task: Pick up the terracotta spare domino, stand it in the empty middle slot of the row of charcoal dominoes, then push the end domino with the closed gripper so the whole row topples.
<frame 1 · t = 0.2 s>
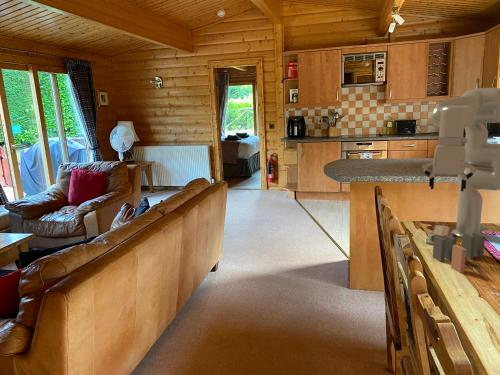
hand: (446, 189, 137), 30 cm above the table, tool pointing down, fingers open, 9 cm apart
domino 2: (467, 256, 153), on the table
domino 1: (476, 255, 154), on the table
domino 5: (438, 259, 151), on the table
domino 4: (448, 258, 152), on the table
packaged product: (439, 240, 173), on the table
spare domino: (457, 270, 141), on the table
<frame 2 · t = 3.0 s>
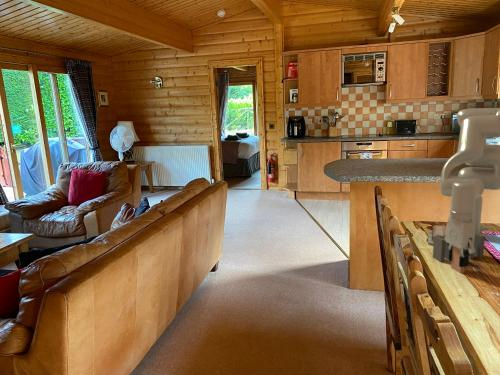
hand: (458, 262, 140), 3 cm above the table, tool pointing down, fingers closed on spare domino, 4 cm apart
spare domino: (457, 270, 141), on the table, touching gripper
everything else where it was.
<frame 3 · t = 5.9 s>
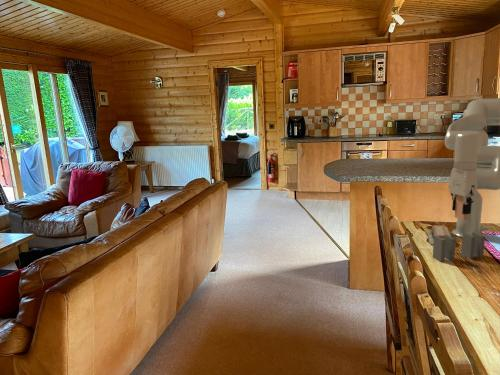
hand: (461, 211, 148), 19 cm above the table, tool pointing down, fingers closed on spare domino, 4 cm apart
spare domino: (460, 218, 149), point 16 cm above the table, touching gripper
when the fingers open (4 cm above the table, at t = 9.0 s): spare domino stays where it is, on the table.
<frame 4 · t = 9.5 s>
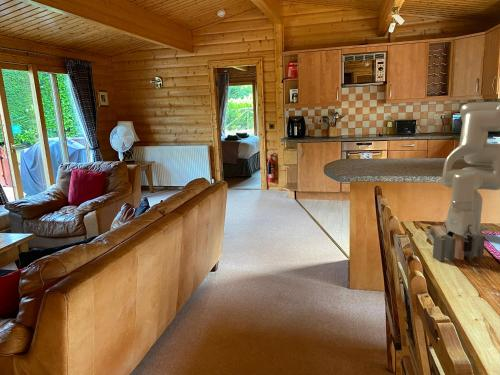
hand: (458, 246, 151), 4 cm above the table, tool pointing down, fingers open, 9 cm apart
spare domino: (457, 257, 153), on the table
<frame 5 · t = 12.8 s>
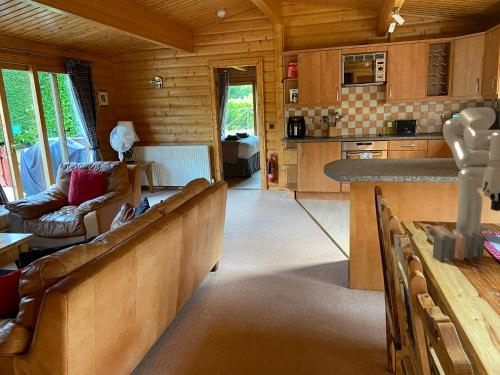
hand: (495, 210, 151), 18 cm above the table, tool pointing down, fingers closed
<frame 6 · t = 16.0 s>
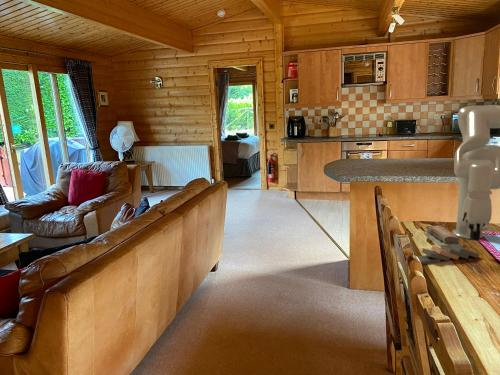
hand: (474, 239, 152), 7 cm above the table, tool pointing down, fingers closed
domino 2: (463, 254, 153), point 1 cm above the table, tilted 67°, touching domino 1, spare domino
domino 1: (473, 253, 153), point 1 cm above the table, tilted 68°, touching domino 2
domino 5: (436, 258, 151), on the table, tilted 90°
domino 4: (445, 257, 151), point 1 cm above the table, tilted 71°, touching spare domino
spare domino: (454, 255, 152), point 1 cm above the table, tilted 67°, touching domino 2, domino 4
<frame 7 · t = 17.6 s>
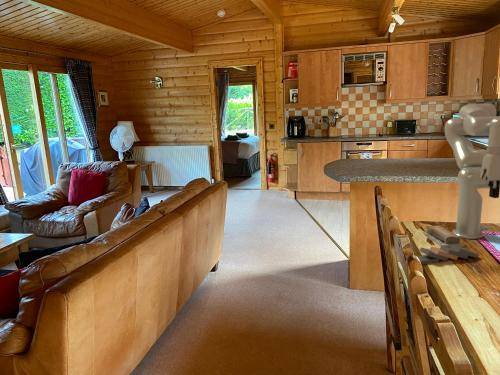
hand: (493, 197, 150), 24 cm above the table, tool pointing down, fingers closed
spare domino: (453, 255, 152), point 1 cm above the table, tilted 69°, touching domino 2, domino 4
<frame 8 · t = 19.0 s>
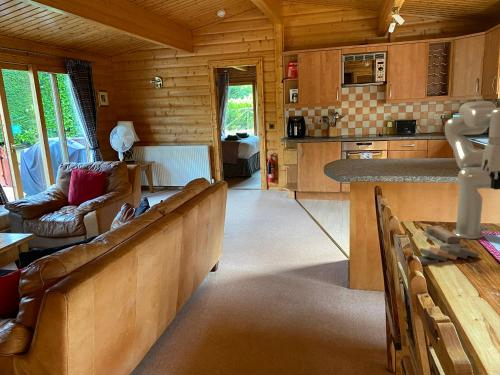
hand: (495, 188, 149), 27 cm above the table, tool pointing down, fingers closed
domino 5: (434, 259, 150), point 1 cm above the table, tilted 90°, touching domino 4
domino 4: (442, 257, 151), point 1 cm above the table, tilted 70°, touching domino 5, spare domino
at the end: domino 5 tilted 90°; spare domino tilted 69°; spare domino inside the target area (1.7 cm from its centre), point 0.7 cm above the table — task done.
